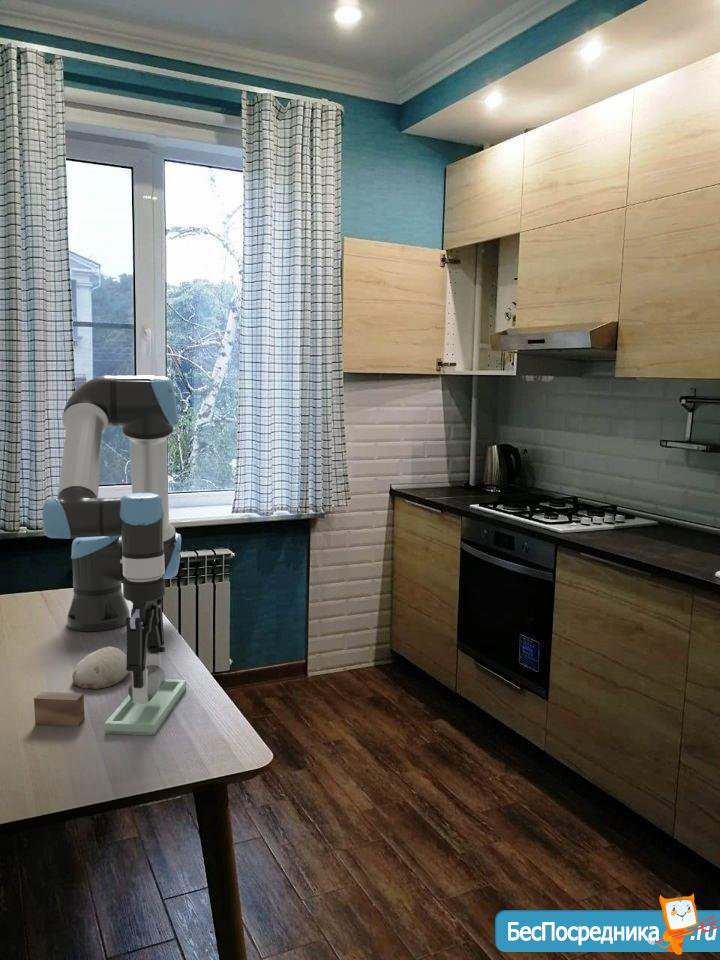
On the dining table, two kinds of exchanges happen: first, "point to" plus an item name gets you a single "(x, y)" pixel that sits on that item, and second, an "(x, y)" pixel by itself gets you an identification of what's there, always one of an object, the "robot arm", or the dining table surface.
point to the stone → (101, 668)
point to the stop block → (59, 708)
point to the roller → (152, 681)
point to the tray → (145, 711)
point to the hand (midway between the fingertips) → (147, 693)
